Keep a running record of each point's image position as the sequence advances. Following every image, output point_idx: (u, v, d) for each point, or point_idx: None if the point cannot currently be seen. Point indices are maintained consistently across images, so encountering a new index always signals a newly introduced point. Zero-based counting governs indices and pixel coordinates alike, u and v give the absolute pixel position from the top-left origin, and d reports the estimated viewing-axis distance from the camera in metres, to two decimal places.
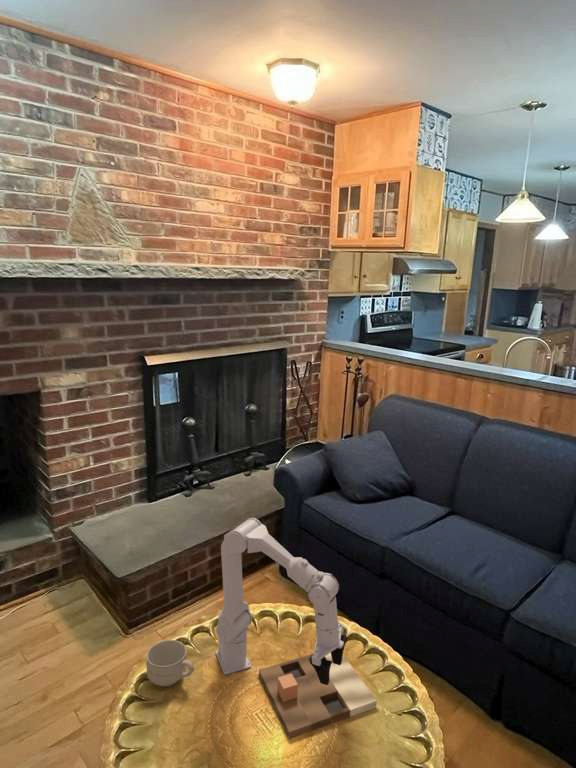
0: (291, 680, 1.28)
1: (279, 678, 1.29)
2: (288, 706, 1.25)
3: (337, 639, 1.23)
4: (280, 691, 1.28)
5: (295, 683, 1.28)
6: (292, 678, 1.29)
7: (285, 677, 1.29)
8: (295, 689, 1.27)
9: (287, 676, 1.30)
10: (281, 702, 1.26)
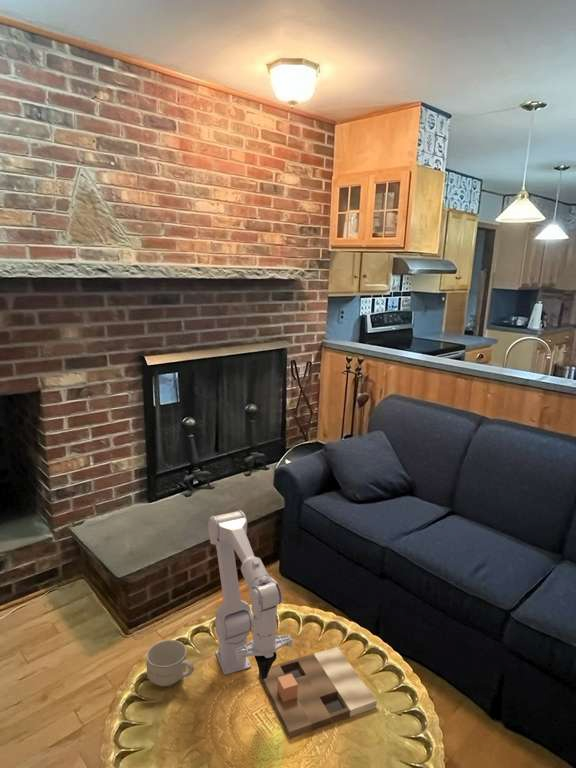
0: (291, 680, 1.28)
1: (279, 678, 1.29)
2: (288, 706, 1.25)
3: (267, 648, 1.20)
4: (280, 691, 1.28)
5: (295, 683, 1.28)
6: (292, 678, 1.29)
7: (285, 677, 1.29)
8: (295, 689, 1.27)
9: (287, 676, 1.30)
10: (281, 702, 1.26)
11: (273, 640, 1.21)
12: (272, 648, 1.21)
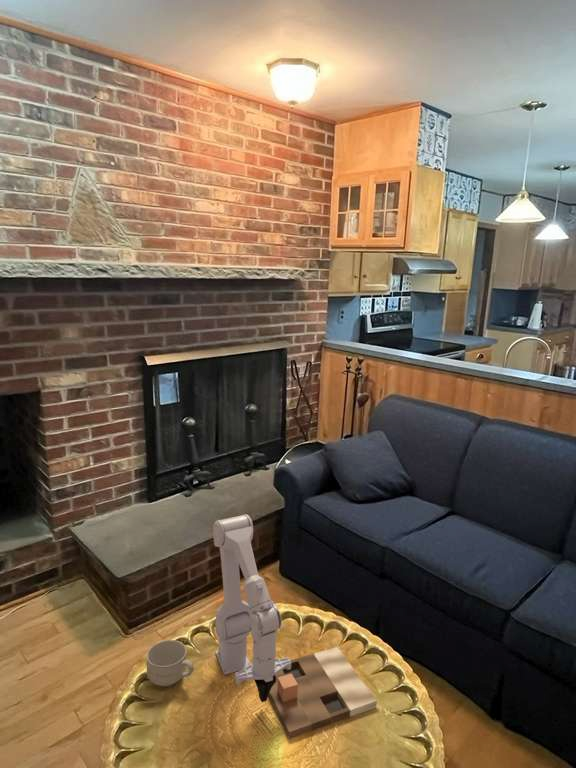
0: (291, 680, 1.28)
1: (279, 678, 1.29)
2: (288, 706, 1.25)
3: (266, 672, 1.21)
4: (280, 691, 1.28)
5: (295, 683, 1.28)
6: (292, 678, 1.29)
7: (285, 677, 1.29)
8: (295, 689, 1.27)
9: (287, 676, 1.30)
10: (281, 702, 1.26)
11: (273, 664, 1.22)
12: (272, 672, 1.22)
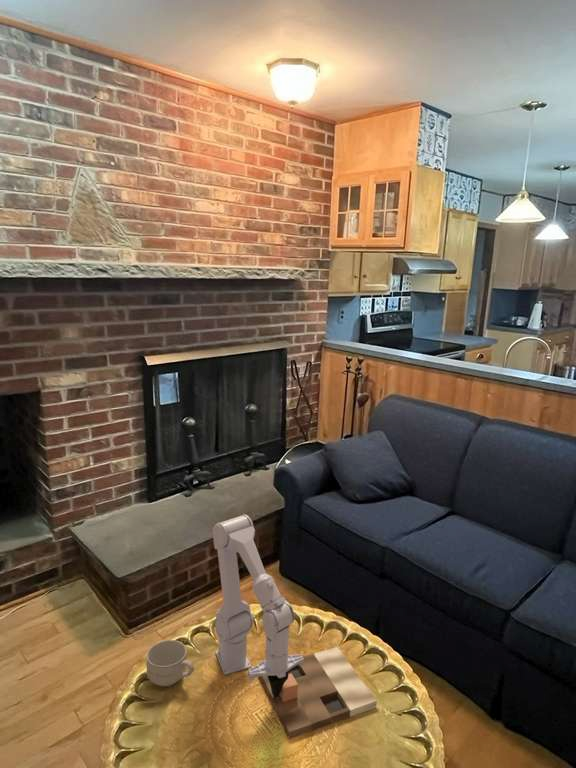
0: (291, 680, 1.28)
1: None
2: (288, 706, 1.25)
3: (279, 668, 1.23)
4: (280, 691, 1.28)
5: (295, 683, 1.28)
6: (292, 678, 1.29)
7: None
8: (295, 689, 1.27)
9: None
10: (281, 702, 1.26)
11: (285, 660, 1.24)
12: (284, 668, 1.24)
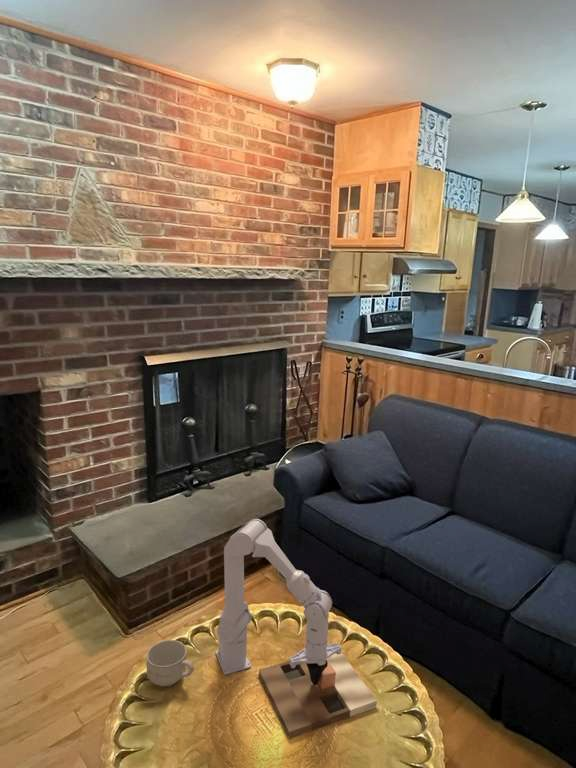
0: (329, 668, 1.33)
1: None
2: (288, 706, 1.25)
3: (319, 656, 1.27)
4: None
5: (333, 671, 1.32)
6: (330, 666, 1.34)
7: None
8: (333, 677, 1.32)
9: None
10: (281, 702, 1.26)
11: (325, 648, 1.28)
12: (324, 656, 1.28)
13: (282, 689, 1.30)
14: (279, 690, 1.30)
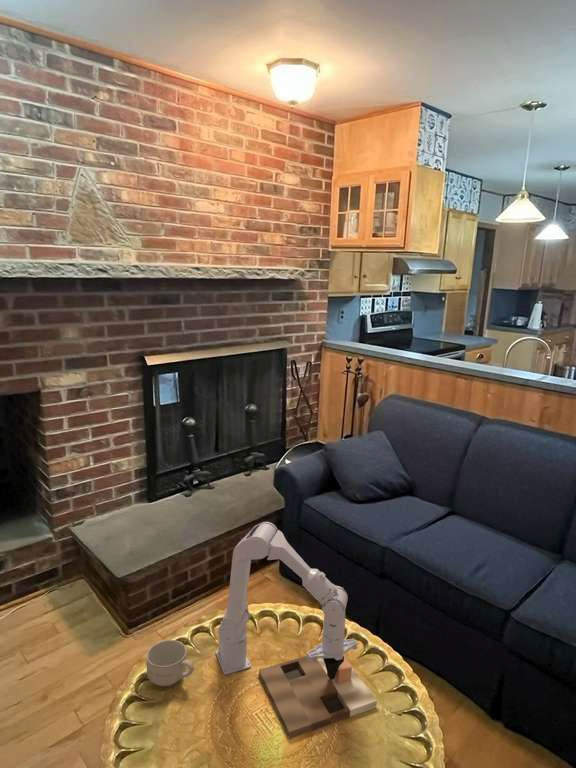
0: (345, 663, 1.35)
1: None
2: (288, 706, 1.25)
3: (337, 651, 1.29)
4: None
5: (349, 666, 1.34)
6: (346, 661, 1.36)
7: None
8: (349, 671, 1.34)
9: None
10: (281, 702, 1.26)
11: (342, 643, 1.30)
12: (341, 651, 1.30)
13: (282, 689, 1.30)
14: (279, 690, 1.30)
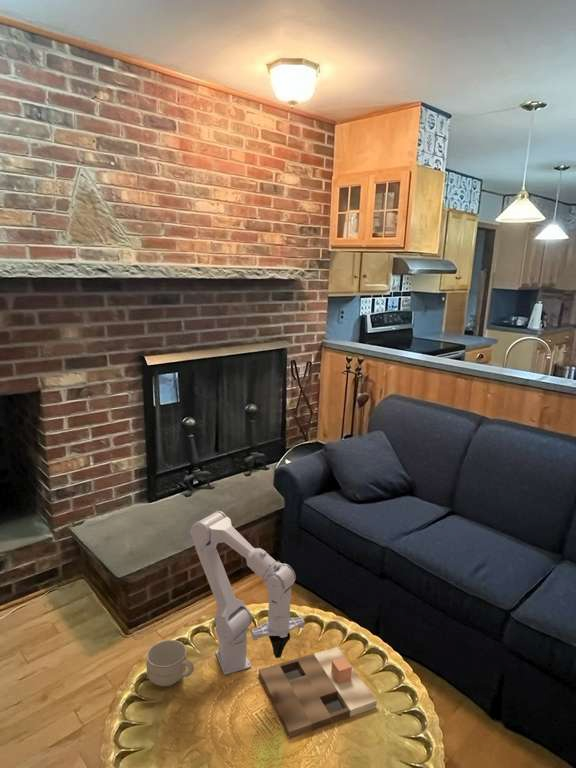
0: (345, 663, 1.35)
1: (333, 661, 1.36)
2: (288, 706, 1.25)
3: (281, 628, 1.28)
4: (335, 673, 1.34)
5: (349, 666, 1.34)
6: (346, 661, 1.36)
7: (339, 660, 1.36)
8: (349, 671, 1.34)
9: (341, 659, 1.36)
10: (281, 702, 1.26)
11: (287, 621, 1.29)
12: (286, 629, 1.29)
13: (282, 689, 1.30)
14: (279, 690, 1.30)
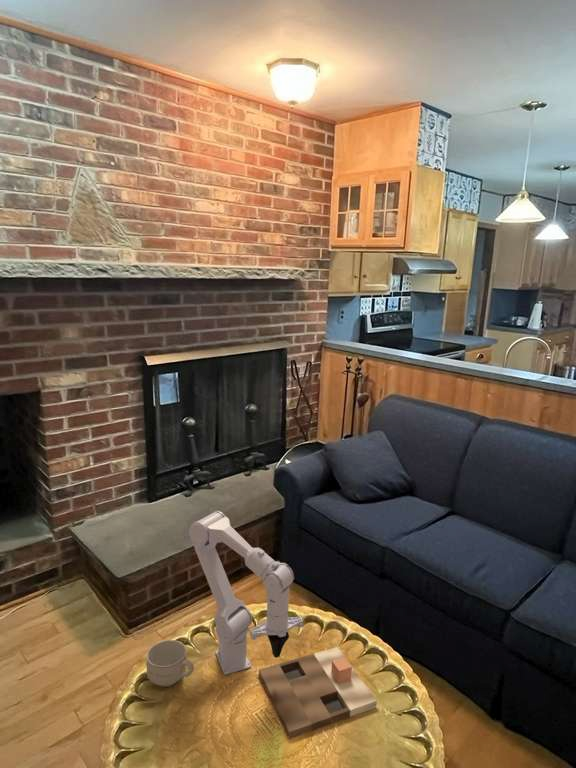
0: (345, 663, 1.35)
1: (333, 661, 1.36)
2: (288, 706, 1.25)
3: (280, 628, 1.28)
4: (335, 673, 1.34)
5: (349, 666, 1.34)
6: (346, 661, 1.36)
7: (339, 660, 1.36)
8: (349, 671, 1.34)
9: (341, 659, 1.36)
10: (281, 702, 1.26)
11: (286, 620, 1.29)
12: (285, 628, 1.29)
13: (282, 689, 1.30)
14: (279, 690, 1.30)
